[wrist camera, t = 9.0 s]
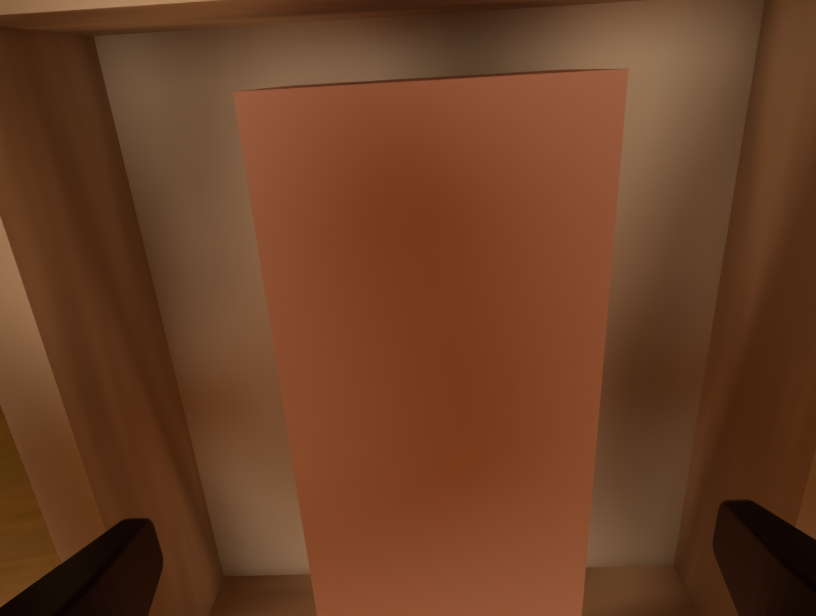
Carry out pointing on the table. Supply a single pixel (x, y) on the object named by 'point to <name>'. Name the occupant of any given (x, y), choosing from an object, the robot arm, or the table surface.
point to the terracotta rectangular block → (440, 328)
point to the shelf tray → (246, 302)
